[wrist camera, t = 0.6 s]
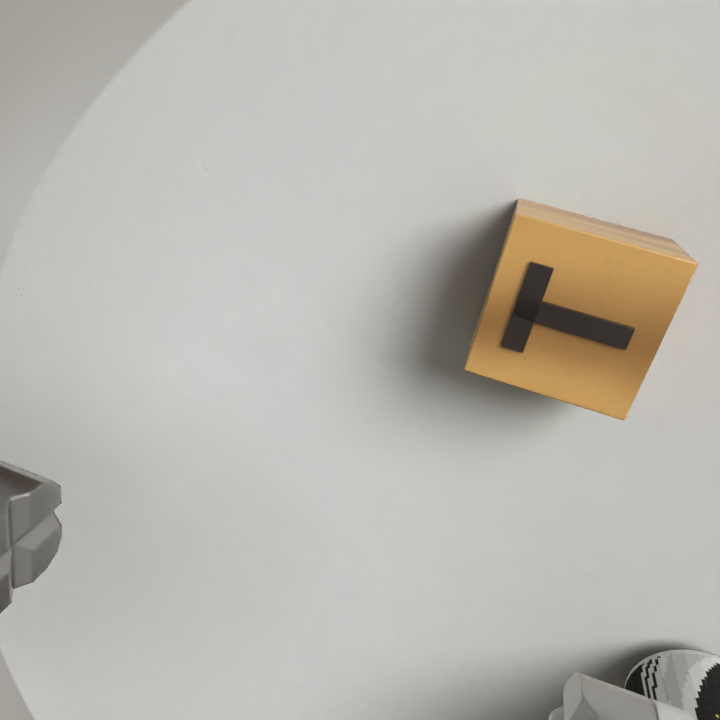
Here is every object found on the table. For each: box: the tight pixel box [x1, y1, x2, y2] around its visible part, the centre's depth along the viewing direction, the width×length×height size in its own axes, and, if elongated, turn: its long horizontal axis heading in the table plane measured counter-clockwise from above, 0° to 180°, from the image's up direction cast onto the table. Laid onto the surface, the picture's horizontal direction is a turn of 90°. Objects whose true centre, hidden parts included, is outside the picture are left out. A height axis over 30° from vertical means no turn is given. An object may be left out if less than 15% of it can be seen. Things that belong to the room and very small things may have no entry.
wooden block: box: [464, 199, 698, 420], centre depth 23 cm, size 6×6×4 cm
